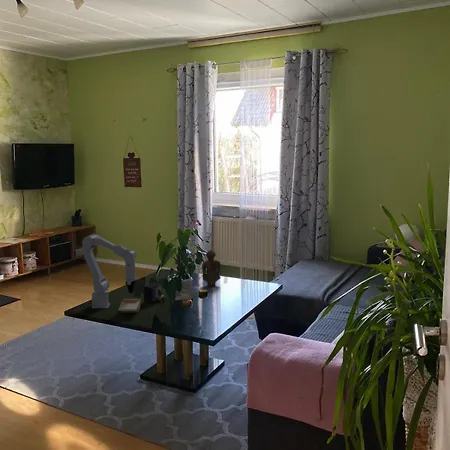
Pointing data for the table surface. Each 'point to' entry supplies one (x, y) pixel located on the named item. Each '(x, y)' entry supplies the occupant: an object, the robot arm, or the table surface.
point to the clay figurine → (211, 269)
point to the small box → (152, 292)
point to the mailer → (134, 310)
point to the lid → (129, 305)
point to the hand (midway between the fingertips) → (130, 292)
